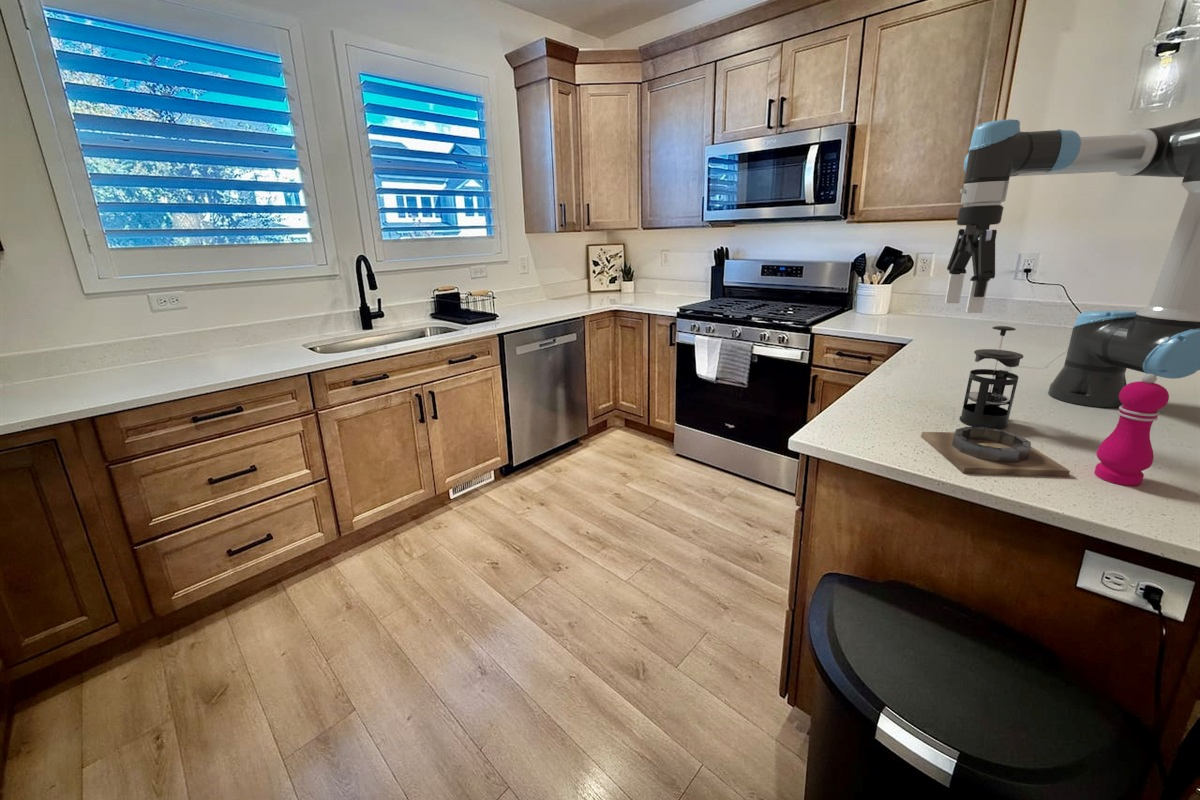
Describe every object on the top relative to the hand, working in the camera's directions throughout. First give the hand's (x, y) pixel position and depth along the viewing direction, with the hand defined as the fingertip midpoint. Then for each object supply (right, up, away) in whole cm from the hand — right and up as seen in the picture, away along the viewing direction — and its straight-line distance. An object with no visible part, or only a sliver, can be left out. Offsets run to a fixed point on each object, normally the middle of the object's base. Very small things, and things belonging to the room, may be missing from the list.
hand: (962, 307), depth 113 cm
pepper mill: (+15, -35, -19) cm, 43 cm away
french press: (+11, -26, +9) cm, 30 cm away
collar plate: (0, -32, -8) cm, 33 cm away
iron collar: (0, -31, -8) cm, 32 cm away
